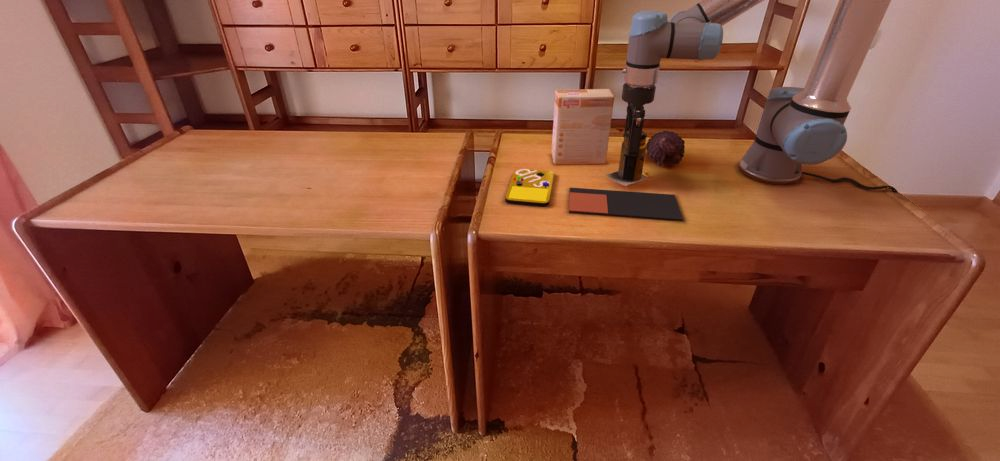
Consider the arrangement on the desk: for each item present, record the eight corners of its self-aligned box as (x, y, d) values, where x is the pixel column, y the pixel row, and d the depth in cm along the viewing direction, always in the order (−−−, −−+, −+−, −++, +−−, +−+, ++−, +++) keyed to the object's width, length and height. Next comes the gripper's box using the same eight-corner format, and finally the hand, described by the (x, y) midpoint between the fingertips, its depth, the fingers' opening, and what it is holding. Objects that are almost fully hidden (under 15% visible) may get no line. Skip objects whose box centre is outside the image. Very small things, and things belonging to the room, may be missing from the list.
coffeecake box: (600, 154, 142) (609, 88, 131) (606, 164, 136) (615, 96, 125) (550, 154, 141) (555, 88, 131) (553, 165, 135) (558, 96, 125)
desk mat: (674, 196, 120) (674, 193, 119) (682, 221, 110) (683, 218, 109) (569, 189, 123) (570, 186, 122) (568, 213, 113) (569, 210, 112)
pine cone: (629, 151, 143) (647, 121, 141) (656, 166, 146) (674, 137, 143) (654, 160, 126) (674, 126, 124) (683, 177, 129) (704, 144, 127)
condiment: (648, 178, 124) (656, 134, 118) (625, 186, 120) (631, 141, 114) (627, 168, 129) (633, 125, 123) (604, 176, 125) (609, 132, 119)
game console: (550, 207, 115) (550, 202, 114) (504, 203, 116) (504, 198, 115) (554, 174, 130) (554, 169, 129) (513, 171, 131) (513, 167, 130)
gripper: (620, 72, 120) (610, 157, 133) (626, 95, 105) (614, 189, 117) (651, 73, 120) (637, 158, 132) (662, 96, 104) (645, 191, 116)
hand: (626, 173), depth 125 cm, fingers closed on condiment, 6 cm apart
